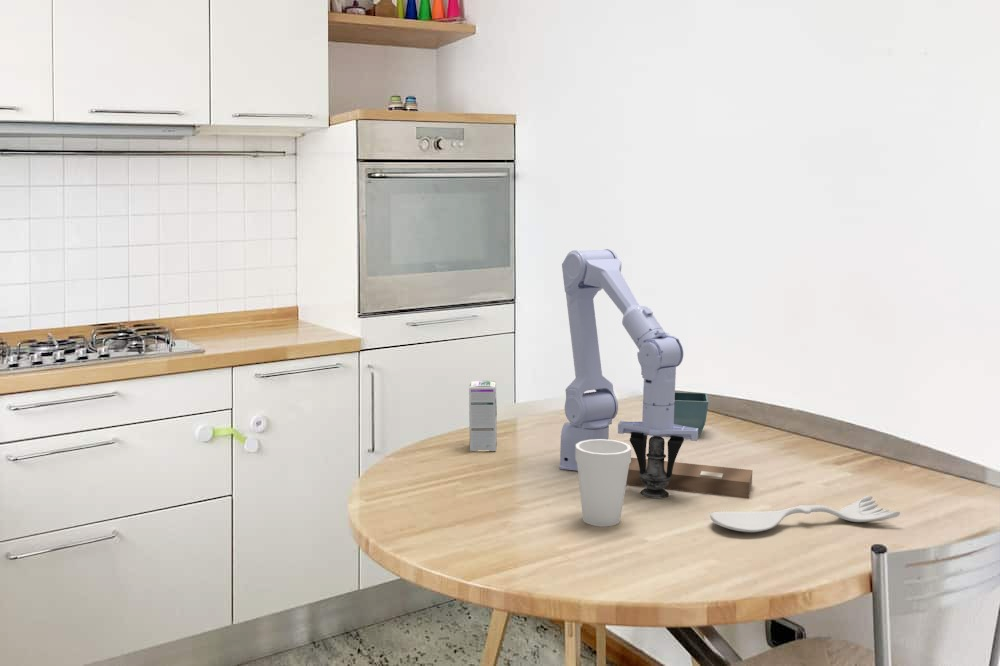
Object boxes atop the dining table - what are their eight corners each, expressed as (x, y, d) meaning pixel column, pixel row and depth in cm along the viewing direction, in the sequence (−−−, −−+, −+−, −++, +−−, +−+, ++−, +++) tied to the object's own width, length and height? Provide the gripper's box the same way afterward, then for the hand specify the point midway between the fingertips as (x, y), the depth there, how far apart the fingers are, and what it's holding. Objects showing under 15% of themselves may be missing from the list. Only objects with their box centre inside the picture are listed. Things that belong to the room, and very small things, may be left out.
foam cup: (564, 514, 163) (566, 442, 161) (611, 507, 167) (613, 437, 165) (590, 533, 155) (592, 457, 153) (639, 525, 158) (641, 451, 156)
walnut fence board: (620, 483, 180) (620, 466, 180) (628, 471, 188) (628, 455, 187) (748, 498, 173) (749, 480, 172) (751, 485, 180) (752, 468, 180)
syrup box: (496, 452, 201) (496, 386, 198) (468, 452, 201) (468, 385, 198) (496, 445, 206) (497, 380, 204) (469, 444, 206) (470, 380, 204)
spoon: (900, 529, 158) (902, 510, 158) (723, 541, 152) (724, 521, 152) (869, 511, 167) (871, 492, 167) (701, 522, 161) (702, 502, 160)
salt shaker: (669, 500, 171) (672, 436, 169) (637, 497, 172) (640, 434, 170) (671, 489, 177) (673, 428, 175) (639, 487, 178) (642, 426, 176)
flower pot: (667, 438, 213) (669, 399, 212) (667, 428, 222) (668, 391, 220) (706, 440, 212) (708, 401, 210) (705, 430, 220) (706, 393, 219)
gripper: (615, 403, 170) (613, 475, 173) (695, 410, 166) (692, 484, 168) (623, 395, 177) (620, 465, 179) (700, 402, 172) (697, 473, 175)
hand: (656, 473), depth 174 cm, fingers open, 4 cm apart
